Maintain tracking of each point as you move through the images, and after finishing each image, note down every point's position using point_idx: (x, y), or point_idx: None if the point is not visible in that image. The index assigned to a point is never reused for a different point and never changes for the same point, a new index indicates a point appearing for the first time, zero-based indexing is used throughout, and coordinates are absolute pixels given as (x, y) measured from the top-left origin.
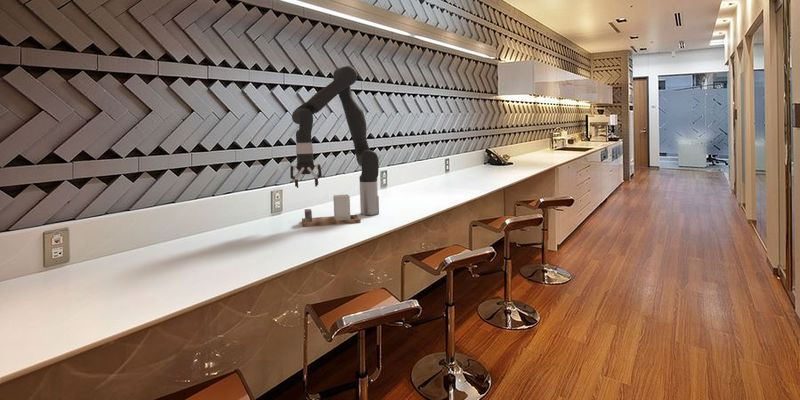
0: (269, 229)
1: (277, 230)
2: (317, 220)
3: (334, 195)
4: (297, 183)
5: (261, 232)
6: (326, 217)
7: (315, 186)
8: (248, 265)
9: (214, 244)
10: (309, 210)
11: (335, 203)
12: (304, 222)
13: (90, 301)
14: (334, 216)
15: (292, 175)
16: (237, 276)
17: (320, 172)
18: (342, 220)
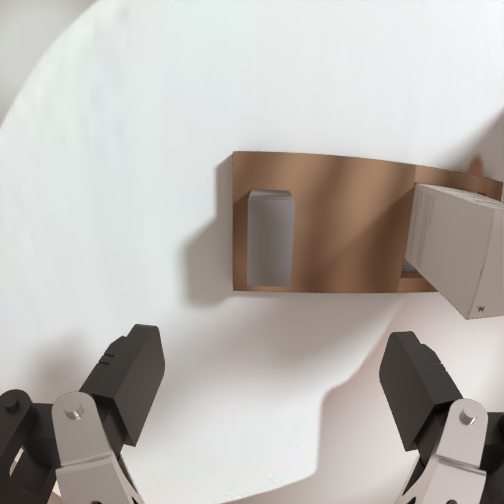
0: (95, 266)
1: (129, 296)
2: (317, 241)
3: (498, 218)
4: (142, 407)
5: (80, 302)
6: (376, 180)
7: (380, 374)
8: (148, 487)
9: (25, 368)
10: (279, 256)
11: (448, 300)
12: (243, 265)
13: None
14: (415, 212)
15: (45, 481)
16: (149, 501)
17: (501, 499)
18: (424, 285)
